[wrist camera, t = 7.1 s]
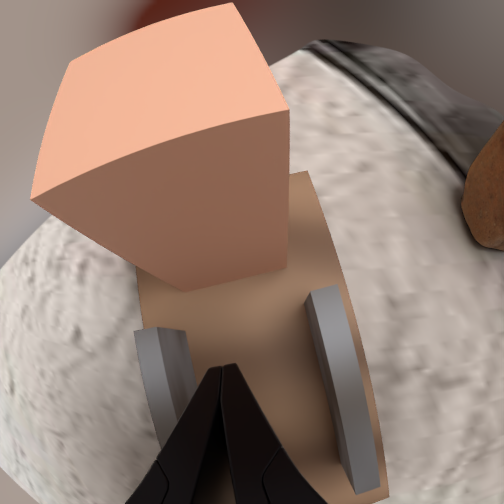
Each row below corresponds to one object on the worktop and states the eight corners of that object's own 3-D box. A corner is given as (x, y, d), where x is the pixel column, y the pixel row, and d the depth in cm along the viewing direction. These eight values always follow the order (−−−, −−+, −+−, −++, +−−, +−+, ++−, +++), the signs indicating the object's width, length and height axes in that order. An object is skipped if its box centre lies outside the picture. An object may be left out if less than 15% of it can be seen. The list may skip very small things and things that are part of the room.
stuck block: (286, 267, 16) (289, 109, 5) (184, 292, 17) (29, 199, 5) (261, 178, 18) (232, 2, 7) (171, 202, 18) (70, 61, 7)
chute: (382, 487, 13) (410, 526, 7) (208, 521, 13) (185, 564, 8) (306, 182, 20) (311, 130, 14) (141, 226, 20) (101, 190, 15)
